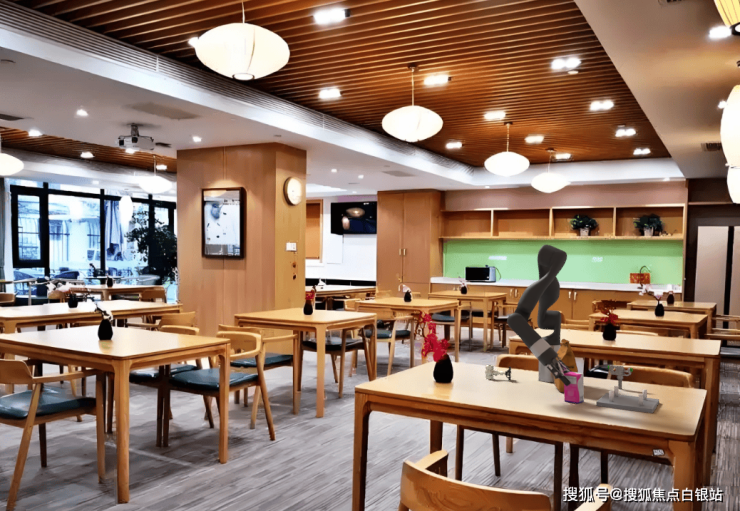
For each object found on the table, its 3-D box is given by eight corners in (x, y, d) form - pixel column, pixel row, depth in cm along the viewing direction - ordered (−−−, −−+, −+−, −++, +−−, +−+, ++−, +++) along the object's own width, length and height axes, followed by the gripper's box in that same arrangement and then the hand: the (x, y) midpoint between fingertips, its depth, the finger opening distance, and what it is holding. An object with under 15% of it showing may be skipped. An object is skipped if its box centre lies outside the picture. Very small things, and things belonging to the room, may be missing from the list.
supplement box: (570, 399, 242) (570, 371, 242) (584, 401, 238) (584, 373, 238) (563, 401, 238) (563, 372, 238) (577, 404, 234) (577, 375, 234)
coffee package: (555, 392, 254) (556, 341, 254) (553, 387, 266) (553, 338, 267) (579, 394, 252) (580, 342, 252) (576, 388, 264) (576, 338, 264)
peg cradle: (596, 405, 231) (596, 391, 232) (606, 396, 248) (606, 383, 248) (652, 413, 221) (652, 398, 221) (659, 402, 238) (659, 389, 238)
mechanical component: (631, 391, 260) (631, 368, 260) (607, 387, 266) (607, 365, 266) (633, 389, 262) (633, 367, 262) (608, 386, 268) (609, 364, 269)
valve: (484, 380, 280) (510, 382, 277) (484, 366, 281) (510, 367, 277) (485, 377, 287) (511, 379, 283) (485, 364, 287) (511, 365, 283)
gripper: (545, 348, 237) (574, 380, 231) (554, 344, 249) (582, 374, 243) (531, 360, 240) (560, 392, 234) (542, 355, 252) (569, 386, 246)
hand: (571, 383), depth 238 cm, fingers open, 8 cm apart
